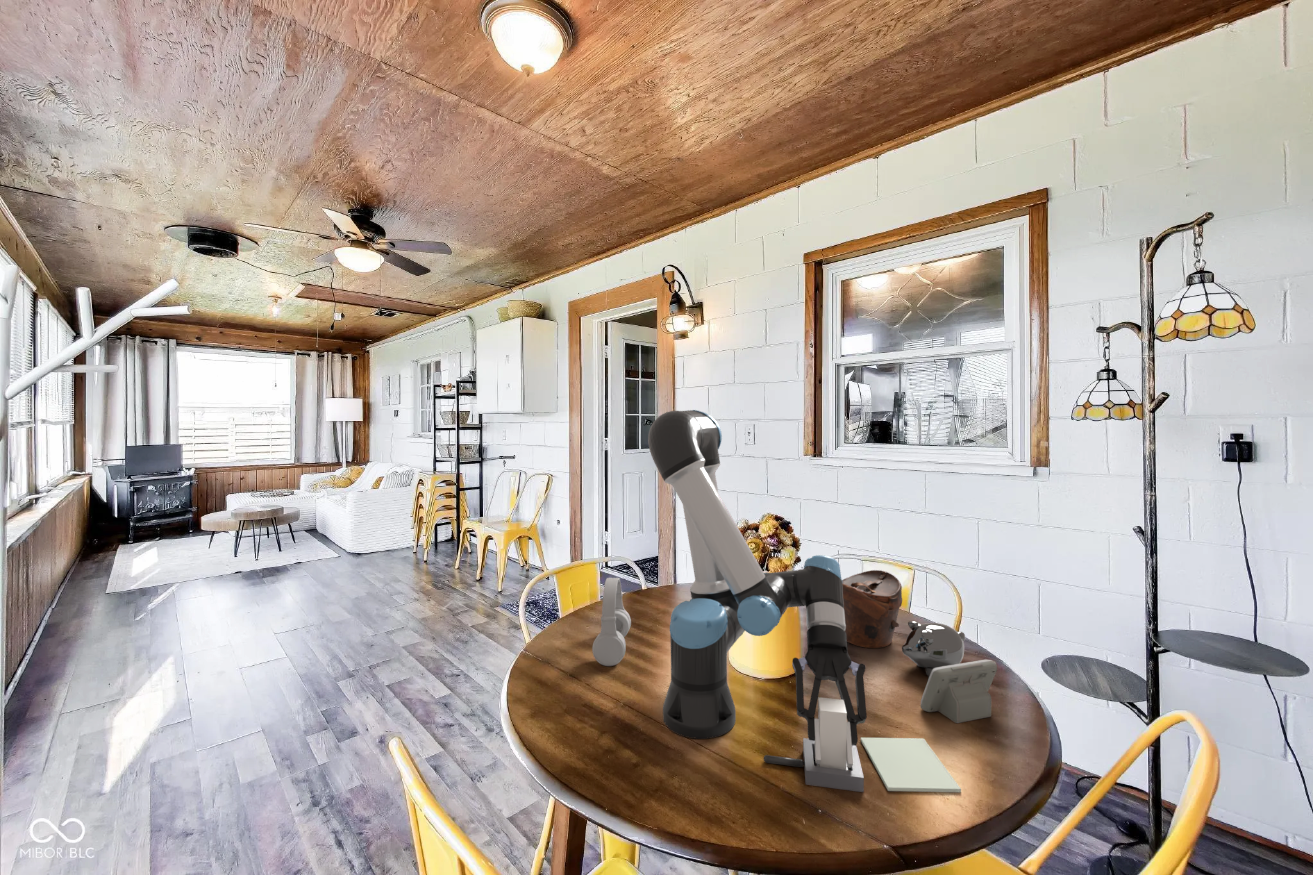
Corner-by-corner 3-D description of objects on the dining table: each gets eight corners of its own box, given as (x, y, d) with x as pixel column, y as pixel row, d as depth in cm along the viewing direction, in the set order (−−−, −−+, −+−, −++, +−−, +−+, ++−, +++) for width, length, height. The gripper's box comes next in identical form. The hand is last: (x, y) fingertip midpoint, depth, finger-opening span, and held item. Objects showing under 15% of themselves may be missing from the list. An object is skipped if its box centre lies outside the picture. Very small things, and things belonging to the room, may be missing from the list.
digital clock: (981, 698, 121) (982, 651, 120) (1010, 721, 112) (1012, 670, 111) (910, 701, 120) (911, 654, 119) (934, 725, 111) (935, 674, 110)
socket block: (762, 778, 95) (762, 764, 95) (764, 746, 104) (764, 733, 104) (863, 792, 92) (863, 777, 92) (855, 757, 101) (855, 744, 101)
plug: (817, 778, 95) (817, 711, 95) (815, 759, 100) (815, 695, 100) (848, 782, 94) (849, 714, 94) (845, 763, 99) (845, 698, 99)
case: (832, 649, 145) (833, 583, 144) (832, 622, 164) (834, 563, 163) (905, 660, 140) (907, 591, 139) (897, 630, 159) (899, 569, 158)
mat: (888, 790, 92) (888, 787, 92) (860, 740, 106) (860, 737, 106) (960, 792, 91) (961, 788, 91) (923, 741, 105) (923, 738, 105)
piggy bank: (892, 660, 139) (893, 616, 139) (951, 660, 139) (952, 615, 139) (913, 682, 128) (914, 634, 128) (977, 681, 128) (978, 633, 127)
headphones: (625, 667, 137) (624, 591, 136) (591, 667, 137) (590, 591, 136) (631, 634, 157) (630, 568, 156) (602, 634, 157) (601, 568, 156)
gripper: (870, 641, 109) (885, 775, 94) (780, 634, 113) (781, 762, 98) (875, 626, 104) (892, 765, 89) (780, 619, 108) (781, 751, 93)
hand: (833, 763), depth 93 cm, fingers open, 4 cm apart
